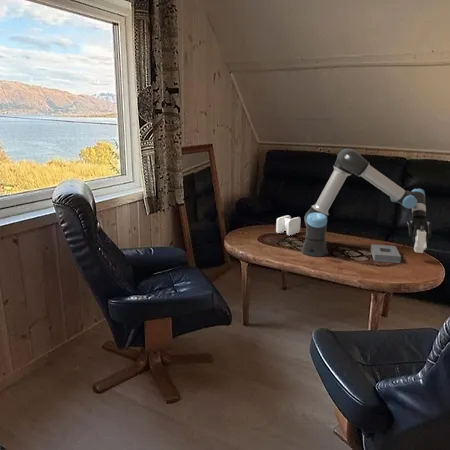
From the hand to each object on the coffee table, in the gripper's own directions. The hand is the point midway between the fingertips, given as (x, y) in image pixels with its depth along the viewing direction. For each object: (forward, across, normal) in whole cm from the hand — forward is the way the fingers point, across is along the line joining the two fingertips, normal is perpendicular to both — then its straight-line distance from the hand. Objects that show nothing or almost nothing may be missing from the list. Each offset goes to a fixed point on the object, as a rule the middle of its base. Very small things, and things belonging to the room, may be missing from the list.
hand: (420, 247), depth 235 cm
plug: (0, 0, -5) cm, 5 cm away
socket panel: (+1, +17, -12) cm, 21 cm away
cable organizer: (-22, +77, -36) cm, 88 cm away
